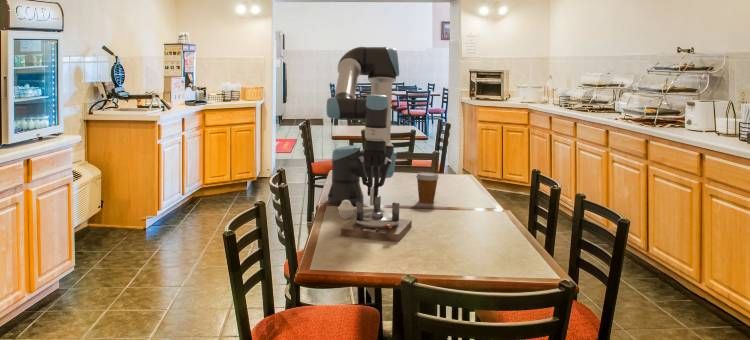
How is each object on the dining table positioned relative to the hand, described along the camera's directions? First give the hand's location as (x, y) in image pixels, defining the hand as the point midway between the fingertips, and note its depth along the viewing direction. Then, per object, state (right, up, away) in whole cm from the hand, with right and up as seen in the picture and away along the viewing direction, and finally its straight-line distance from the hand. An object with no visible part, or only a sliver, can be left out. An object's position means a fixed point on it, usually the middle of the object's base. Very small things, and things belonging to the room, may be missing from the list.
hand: (372, 204), depth 213 cm
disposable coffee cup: (+23, -1, +42) cm, 48 cm away
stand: (+2, -9, -6) cm, 11 cm away
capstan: (+2, -6, -7) cm, 9 cm away
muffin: (-10, -6, +11) cm, 16 cm away
